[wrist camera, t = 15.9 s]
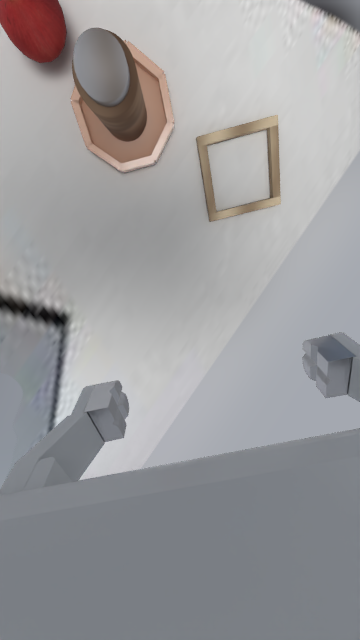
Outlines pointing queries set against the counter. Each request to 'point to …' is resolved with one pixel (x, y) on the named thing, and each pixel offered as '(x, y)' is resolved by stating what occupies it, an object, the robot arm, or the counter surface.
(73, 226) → the counter surface
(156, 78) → the dish
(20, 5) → the onion
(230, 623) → the robot arm
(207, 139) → the holder frame
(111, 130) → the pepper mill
